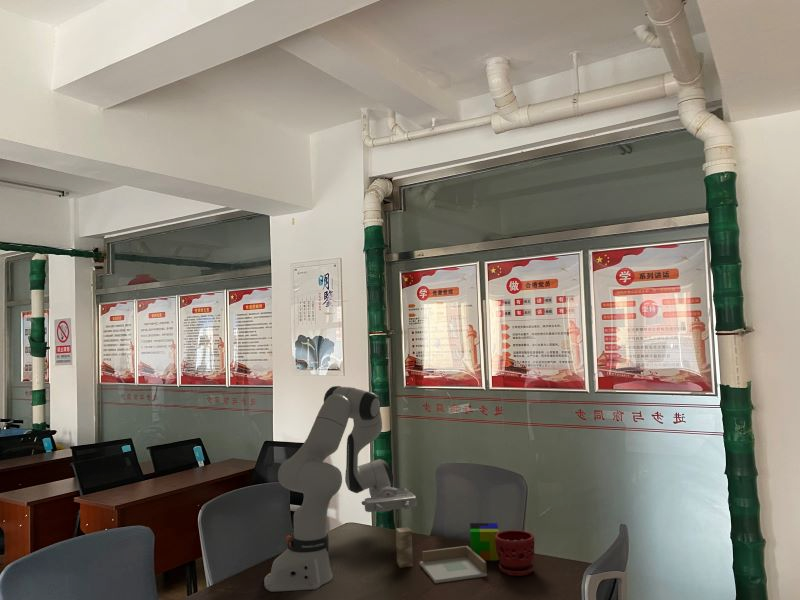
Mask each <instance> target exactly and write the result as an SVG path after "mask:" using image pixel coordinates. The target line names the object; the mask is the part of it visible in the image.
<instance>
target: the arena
mask: <svg viewBox="0 0 800 600" xmlns="http://www.w3.org/2000/svg"><path fill="white" fill-rule="evenodd" d="M421 553H422V555H421V558H422V561H419V566H420V567H421V568H422V569H423V571H424V572H425V573H426V574H427V575H428V576H429V578H430V579H431V580H432V582H433V583H434V584H440V583H446V582H454V581H461V580H467V579H469V580H470V579H476V578H483V577H487V576H488V575H487V574H488V573H487V572H488V570H487V562H486V560H483V559H482V558H481V557H480V556H479V555H478V554H476V553H475V552H474V551H473V550H472V549H471V546H470V547H469V545H462V546H455V547H454V546H453V547H444V548H438V549H437V548H436V549H430V550H422V552H421Z"/></svg>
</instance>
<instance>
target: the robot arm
mask: <svg viewBox="0 0 800 600" xmlns="http://www.w3.org/2000/svg"><path fill="white" fill-rule="evenodd" d="M349 419H352V420H353V427H352V430H351V432H350V433H349V434H348V435H347V439H346V457H345V458H346V460H345V461H346V467H345V477H344V479H345V485H346V488H347V489H348V491H350V492H352V493H354V494H359V493H361V492H364V491H365V490H368V492H369V496H370V497H366V498H364V500H363V501H361V504H362V505H363V506H364V511H365V512H366V513H373V512H380V513H384V512H390V511H393V510H399V509H405V510H409V509H410V508H417V504H418V500H417V496H416V495H415V494H414V493H412V492H410V491H409V490H408V489H407V488H401V487H398V488H397V487H392V485H393V482H394V477H393V472H392V470H391V469H392V468H391V467H390V465H389V463H388V462H387V461H385V460H384V459H381V458H379V459H376V460H373V461H369V462H367V463H364V464H361V465H359V461H358V460H359V453H360V452H361V451H362V450H363V449H364V448H365V447H366V446H368V445H369V444H370V443H373V442H374V441H375V440H376V439H378V437H379V436H380V435H381V433H382V431H383V420H382V414H381V400H380V398H379V396H378V395H377V394H375V392H371V391H369V390H367V391H366V390H363V389H359V388H356V387H350V386H340V385H336V386H330V387H329V389H327V390H326V392H325V394H324V397H323V404H322V405H321V407H320V409H319V411H318V413H317V416H316V417H315V420H314V422H313V424H312V427H311V429H310V431H309V433H308V435H307V438H306V439H305V441H304V443H303V444H302V445H301V447H300V448H299V449H298V450H297V451H296V452H295V453H294V454H293V455H291V457H289V458H288V459H285V460H284V461H282V463H281V464H280V466H279V468H278V471H277V479H278V482H279V484H280V485H281V486H282V487H283V488H285V489H286V490H287V489H288V490H289V491H292V492H297V493H301V494H303V501H302V504H301V505H300V506H299V507H298V508H297V509H295V511H294V513H293V536H291V535H289V534H288V535H286V537H285V542H286V543H287V549H285V550H284V551H283V552H282V553H280V554H279V556H277V557H276V558H275V559H274V560H273V561H272V564H271V565H272V566H271V569H270V572H269V573H268V574H267V575H266V576H265V577H264V579H263V580H264V581H263V582H264V583H263V585H264V588H265V589H266V590H267V591H269V592H273V593H275V592H290V591H307V590H308V591H309V590H317V589H319V588H320V587H321V586H323V585H324V584H328V583H329V582H330V581H332V579H333V577H334V576H333V573H332V569H331V565H330V558H329V551H330V550H329V549H330V538H329V534H328V508H329V505H330V502H331V500H332V499H333V497H334V496H335V495H336V494H337V493H338V492H339V491H340V489H341V487H342V484H343V474H342V472H341V470H340V468H338V467H337V466H336V465H333V464H332V463H328V462H327V461H325V460H326V459H327V458H328V457H329V456H331V455H333V454H334V453H335V452H337V450H338V449H339V447H340V444H341V442H342V438H343V435H344V433H345V431H346V428H347V426H348V422H349ZM324 461H325V462H324Z"/></svg>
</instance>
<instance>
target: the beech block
mask: <svg viewBox="0 0 800 600" xmlns="http://www.w3.org/2000/svg"><path fill="white" fill-rule="evenodd" d="M395 536H396V537H395V545H396V564H397V565H398V567H399V568H409V567H413V566H414V565H413V535H412V529H410V528H409V527H408V526H407V527H399V528H398V527H397V528H395Z"/></svg>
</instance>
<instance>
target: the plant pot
mask: <svg viewBox="0 0 800 600" xmlns="http://www.w3.org/2000/svg"><path fill="white" fill-rule="evenodd" d="M495 545H496V551H497V555H498V558H499V560H500V561H499V565H498V568H499V569H500V571H501V572H502V573H504V574H505V575H509V576H515V577H516V576H518V577H519V576H521V577H522V576H528V575H529V574H531V573H532V572H533V571H534V570H535V565H534V564H533V560H534V557H535V536H534V534H533V533H531V532H529V531H525V530H513V529H511V530H503V531H499V533H497V534H496V535H495Z"/></svg>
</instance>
